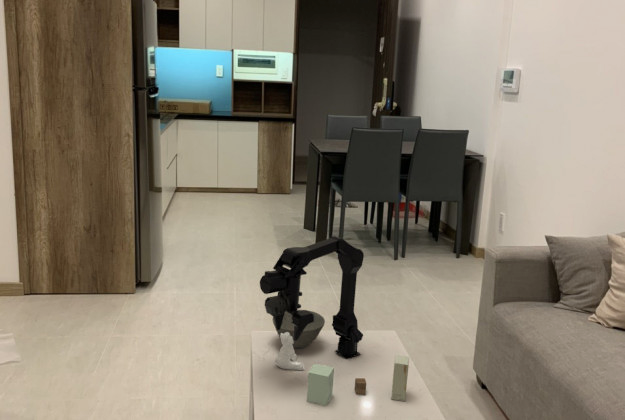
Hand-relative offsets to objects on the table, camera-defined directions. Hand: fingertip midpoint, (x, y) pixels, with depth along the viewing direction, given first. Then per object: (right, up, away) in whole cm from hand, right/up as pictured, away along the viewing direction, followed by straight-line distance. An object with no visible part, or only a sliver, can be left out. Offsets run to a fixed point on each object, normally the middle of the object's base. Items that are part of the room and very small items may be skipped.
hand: (286, 334), depth 198 cm
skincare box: (+35, -18, -5) cm, 40 cm away
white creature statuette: (0, -13, +10) cm, 16 cm away
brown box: (+23, -17, -4) cm, 29 cm away
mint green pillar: (+10, -18, -9) cm, 22 cm away
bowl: (+3, -9, +26) cm, 27 cm away
